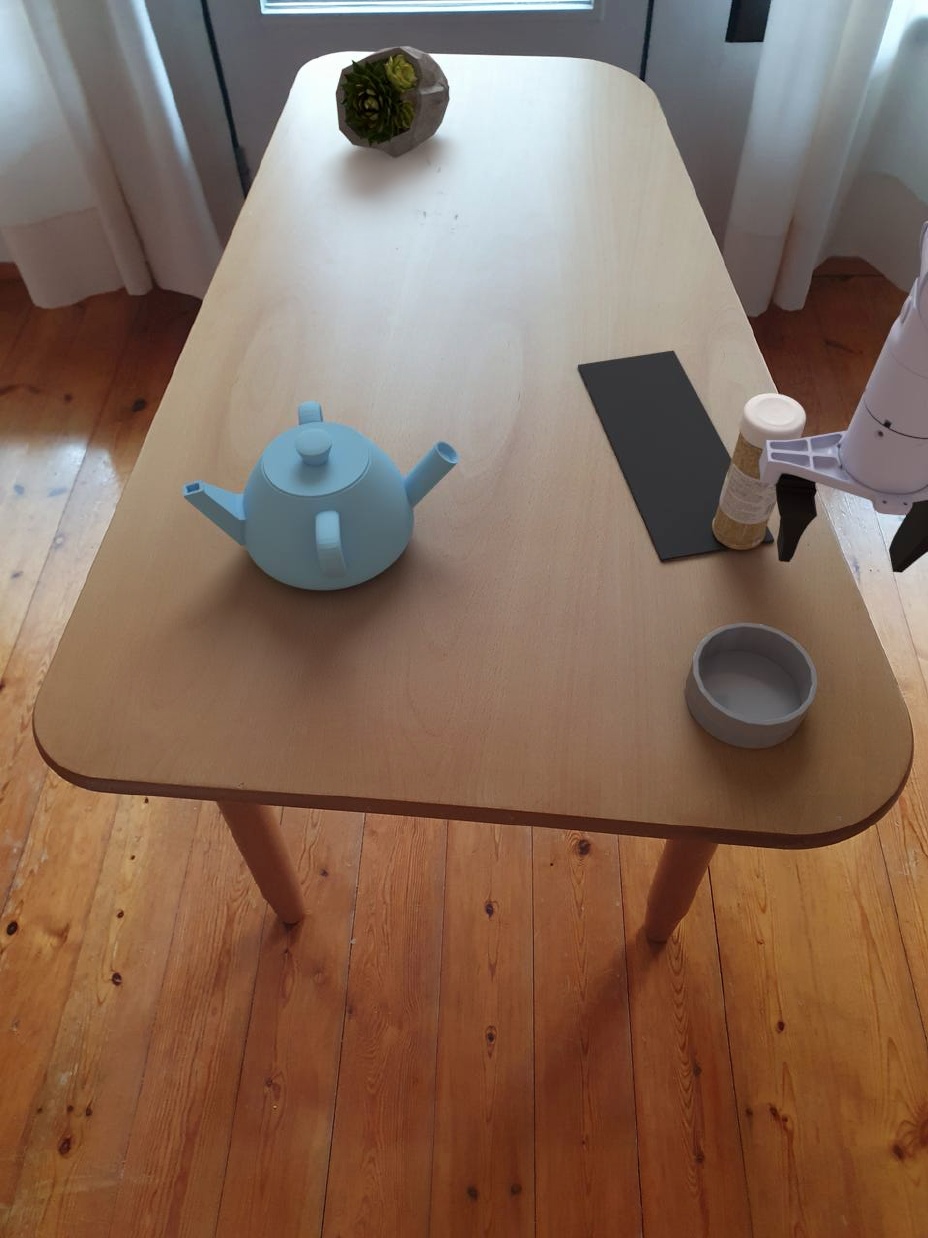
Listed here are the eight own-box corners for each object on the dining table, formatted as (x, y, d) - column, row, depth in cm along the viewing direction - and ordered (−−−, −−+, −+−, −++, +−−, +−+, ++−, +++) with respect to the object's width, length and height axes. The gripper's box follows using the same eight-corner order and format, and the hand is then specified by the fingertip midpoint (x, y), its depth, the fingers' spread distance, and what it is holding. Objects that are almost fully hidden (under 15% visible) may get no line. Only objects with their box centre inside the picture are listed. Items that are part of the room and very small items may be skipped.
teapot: (373, 641, 75) (357, 548, 66) (201, 563, 80) (165, 467, 71) (467, 515, 83) (464, 416, 74) (305, 451, 88) (283, 352, 79)
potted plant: (473, 104, 120) (435, 126, 109) (400, 165, 127) (358, 191, 116) (416, 13, 116) (371, 26, 105) (345, 82, 123) (295, 100, 112)
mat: (773, 542, 80) (774, 539, 80) (661, 561, 79) (661, 559, 79) (673, 352, 95) (673, 350, 95) (577, 366, 94) (577, 364, 94)
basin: (799, 654, 73) (811, 628, 70) (809, 754, 68) (823, 730, 65) (684, 644, 74) (692, 617, 71) (686, 742, 69) (694, 718, 66)
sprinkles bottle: (735, 504, 82) (772, 382, 72) (776, 535, 80) (820, 413, 69) (698, 529, 81) (731, 408, 70) (739, 561, 79) (779, 440, 68)
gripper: (791, 442, 53) (735, 591, 64) (1061, 464, 52) (957, 612, 63) (782, 361, 57) (731, 514, 68) (1031, 380, 56) (939, 532, 67)
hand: (839, 556), depth 66 cm, fingers open, 7 cm apart
